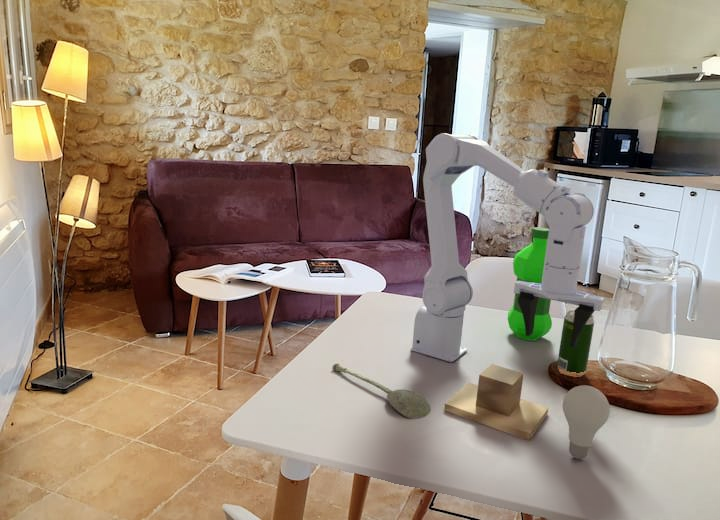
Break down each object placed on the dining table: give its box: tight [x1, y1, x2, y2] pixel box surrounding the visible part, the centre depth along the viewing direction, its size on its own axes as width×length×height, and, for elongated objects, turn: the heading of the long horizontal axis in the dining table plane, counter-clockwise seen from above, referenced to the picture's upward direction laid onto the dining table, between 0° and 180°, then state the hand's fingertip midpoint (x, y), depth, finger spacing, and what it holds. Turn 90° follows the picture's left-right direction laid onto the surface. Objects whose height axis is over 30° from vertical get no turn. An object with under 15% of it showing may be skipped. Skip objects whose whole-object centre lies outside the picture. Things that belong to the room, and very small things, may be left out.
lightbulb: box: [562, 384, 611, 460], centre depth 77 cm, size 6×6×11 cm
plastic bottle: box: [507, 226, 553, 341], centre depth 122 cm, size 10×10×25 cm
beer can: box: [556, 309, 595, 373], centre depth 105 cm, size 5×5×12 cm
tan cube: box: [476, 363, 525, 417], centre depth 89 cm, size 6×6×6 cm
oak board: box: [443, 382, 549, 441], centre depth 90 cm, size 14×10×1 cm
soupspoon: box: [331, 362, 432, 420], centre depth 94 cm, size 22×3×7 cm
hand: (550, 339), depth 96 cm, fingers open, 7 cm apart
